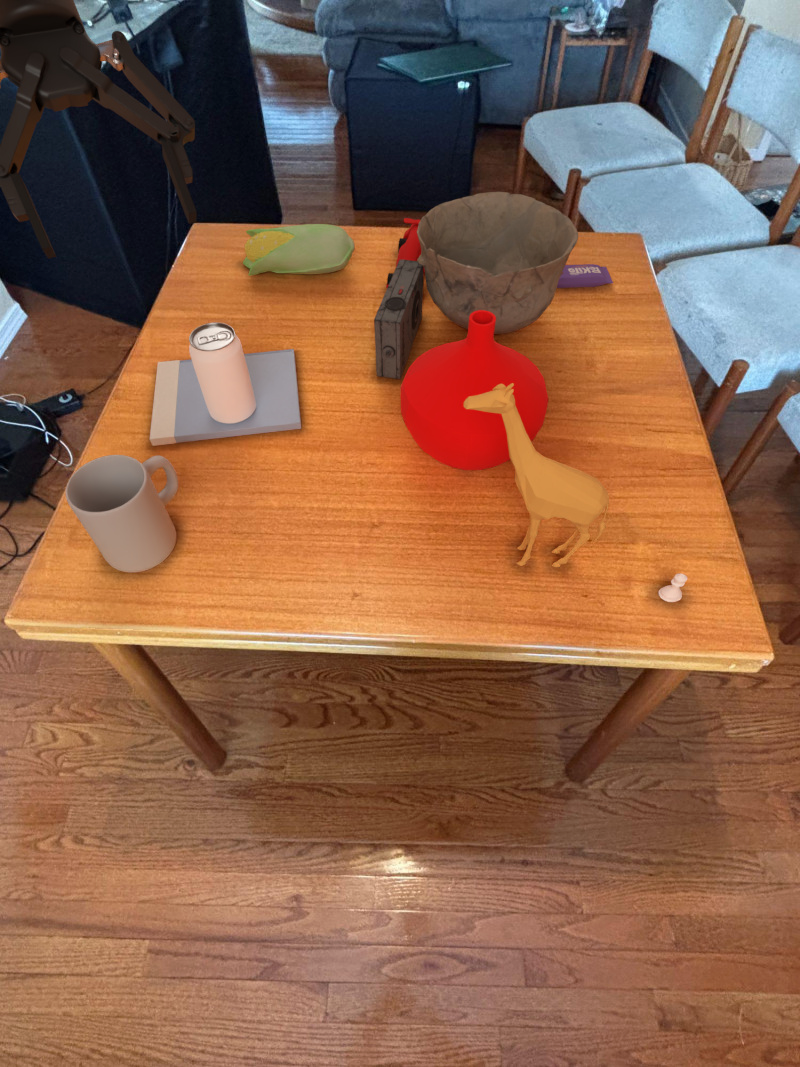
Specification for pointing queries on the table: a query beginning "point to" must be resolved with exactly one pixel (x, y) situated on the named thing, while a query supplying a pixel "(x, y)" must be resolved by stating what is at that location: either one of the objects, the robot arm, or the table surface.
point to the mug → (125, 509)
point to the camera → (398, 319)
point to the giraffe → (545, 479)
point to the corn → (298, 249)
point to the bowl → (494, 257)
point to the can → (222, 372)
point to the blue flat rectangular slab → (186, 411)
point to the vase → (455, 376)
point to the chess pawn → (673, 589)
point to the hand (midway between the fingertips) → (123, 235)
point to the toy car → (408, 246)
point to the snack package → (584, 276)
